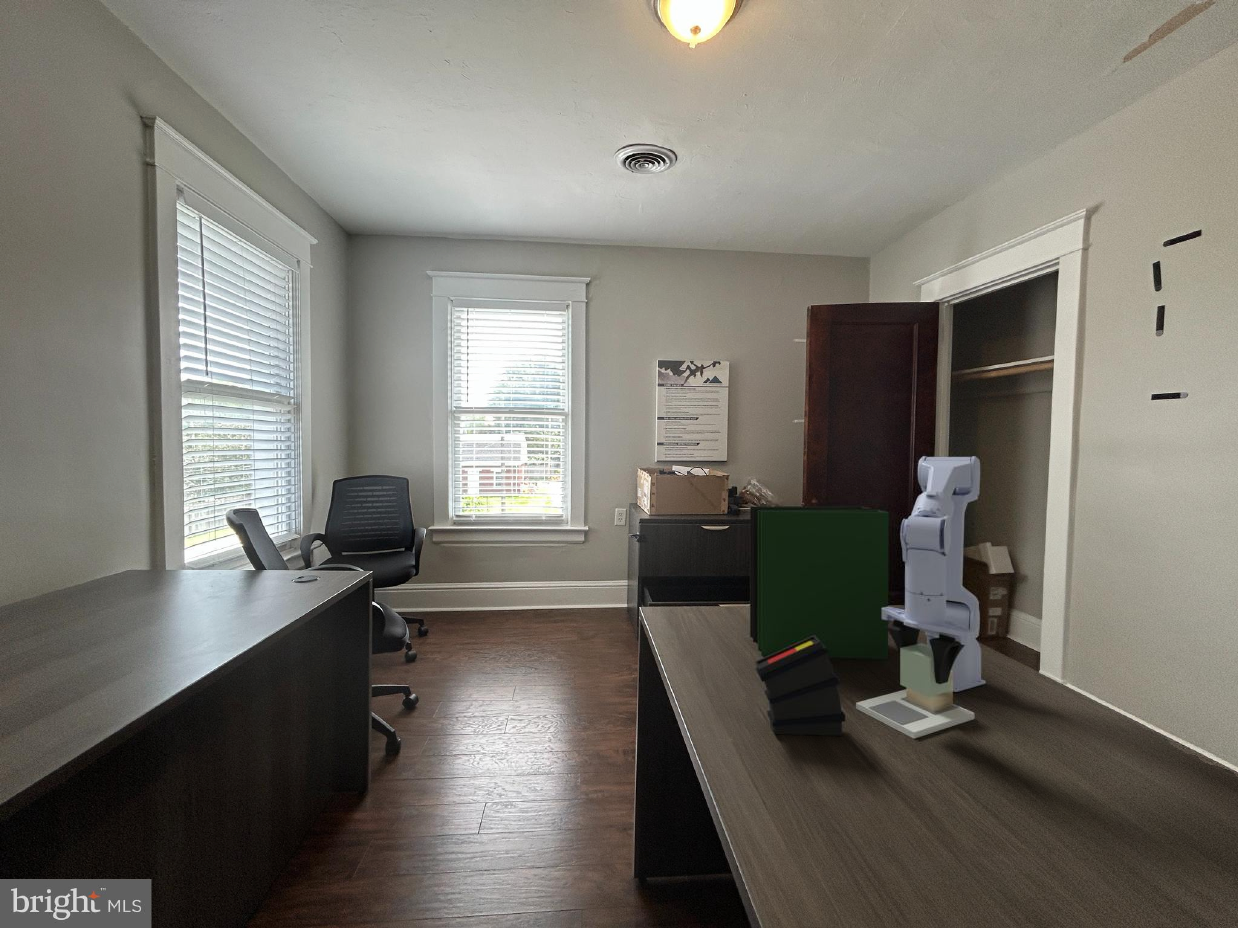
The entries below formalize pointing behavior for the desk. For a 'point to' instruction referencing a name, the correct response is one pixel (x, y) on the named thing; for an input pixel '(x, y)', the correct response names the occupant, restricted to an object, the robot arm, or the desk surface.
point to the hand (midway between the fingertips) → (924, 675)
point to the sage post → (920, 670)
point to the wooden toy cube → (932, 698)
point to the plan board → (912, 714)
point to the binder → (819, 578)
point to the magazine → (802, 690)
